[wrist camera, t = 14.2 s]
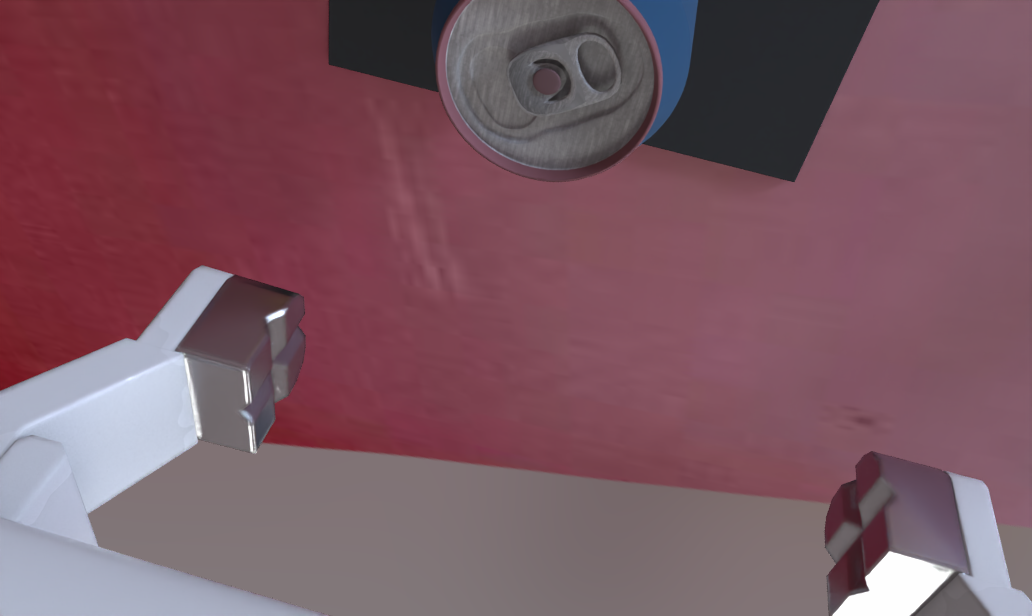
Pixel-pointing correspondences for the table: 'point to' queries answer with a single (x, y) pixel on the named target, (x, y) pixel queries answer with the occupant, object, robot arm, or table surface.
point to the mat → (711, 78)
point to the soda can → (560, 78)
